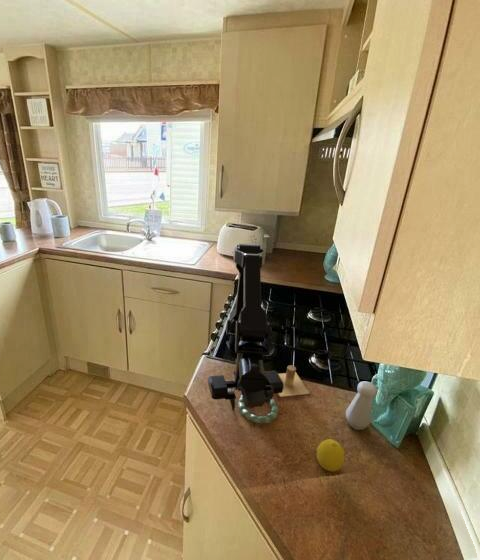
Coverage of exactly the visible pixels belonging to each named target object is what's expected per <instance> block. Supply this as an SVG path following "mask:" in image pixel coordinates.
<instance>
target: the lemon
mask: <svg viewBox="0 0 480 560" xmlns="http://www.w3.org/2000/svg"><path fill="white" fill-rule="evenodd" d="M345 455H346V454H345V451H344V448H343V446H342V445H341V443H339V441H337V440H334V439H332V438H331V439H330V438H327V439H324V440H323V441H321V442H320V444H319V445H318V447H317V449H316V458H317V462H318V464H319V465H320V467H322V469H324V470H326V471H328V472H330V473H331V472H332V473H333V472H337V471H339V470H341V468H342V467H343V466H344V464H345Z"/></svg>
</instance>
